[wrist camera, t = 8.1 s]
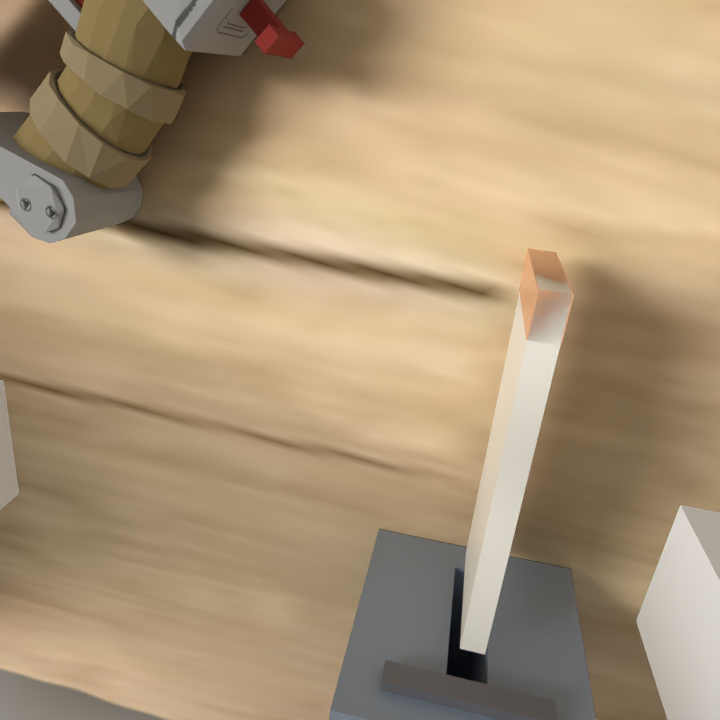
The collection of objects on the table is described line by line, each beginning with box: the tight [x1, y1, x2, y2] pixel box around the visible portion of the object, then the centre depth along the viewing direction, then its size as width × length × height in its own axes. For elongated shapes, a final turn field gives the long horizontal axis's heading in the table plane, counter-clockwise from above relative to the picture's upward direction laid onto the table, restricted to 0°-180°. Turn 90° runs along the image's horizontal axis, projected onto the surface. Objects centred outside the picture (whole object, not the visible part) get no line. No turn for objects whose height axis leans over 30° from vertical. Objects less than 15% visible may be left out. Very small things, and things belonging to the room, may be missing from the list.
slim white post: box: [460, 249, 574, 654], centre depth 29 cm, size 1×18×7 cm, turn 174°
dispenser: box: [329, 529, 596, 720], centre depth 34 cm, size 12×11×13 cm
